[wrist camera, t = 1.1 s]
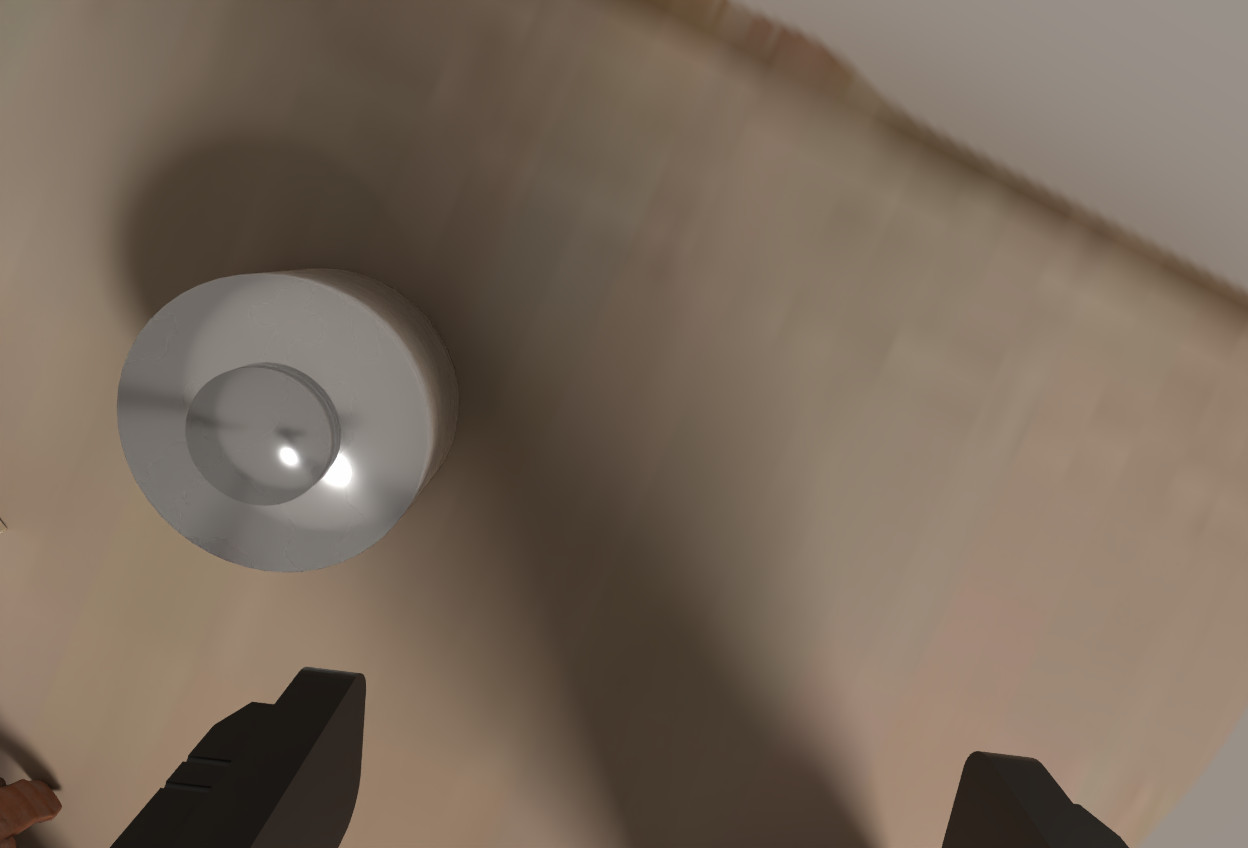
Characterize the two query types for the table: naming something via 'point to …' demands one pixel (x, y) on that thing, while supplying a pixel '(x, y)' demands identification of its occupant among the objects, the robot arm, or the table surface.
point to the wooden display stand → (2, 527)
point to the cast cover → (287, 414)
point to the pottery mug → (24, 808)
